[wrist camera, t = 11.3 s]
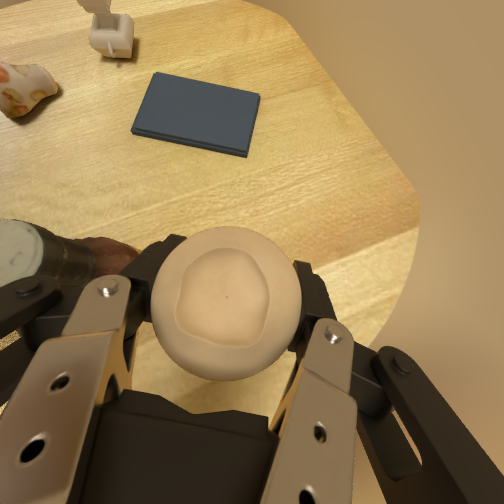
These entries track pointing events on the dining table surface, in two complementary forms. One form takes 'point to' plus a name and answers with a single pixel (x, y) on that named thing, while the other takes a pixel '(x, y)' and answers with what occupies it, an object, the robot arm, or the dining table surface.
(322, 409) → the robot arm
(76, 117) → the dining table surface
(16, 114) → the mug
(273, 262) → the candle
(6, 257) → the sauce bottle
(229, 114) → the dark grey rectangular slab
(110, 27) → the beige blocky piece
